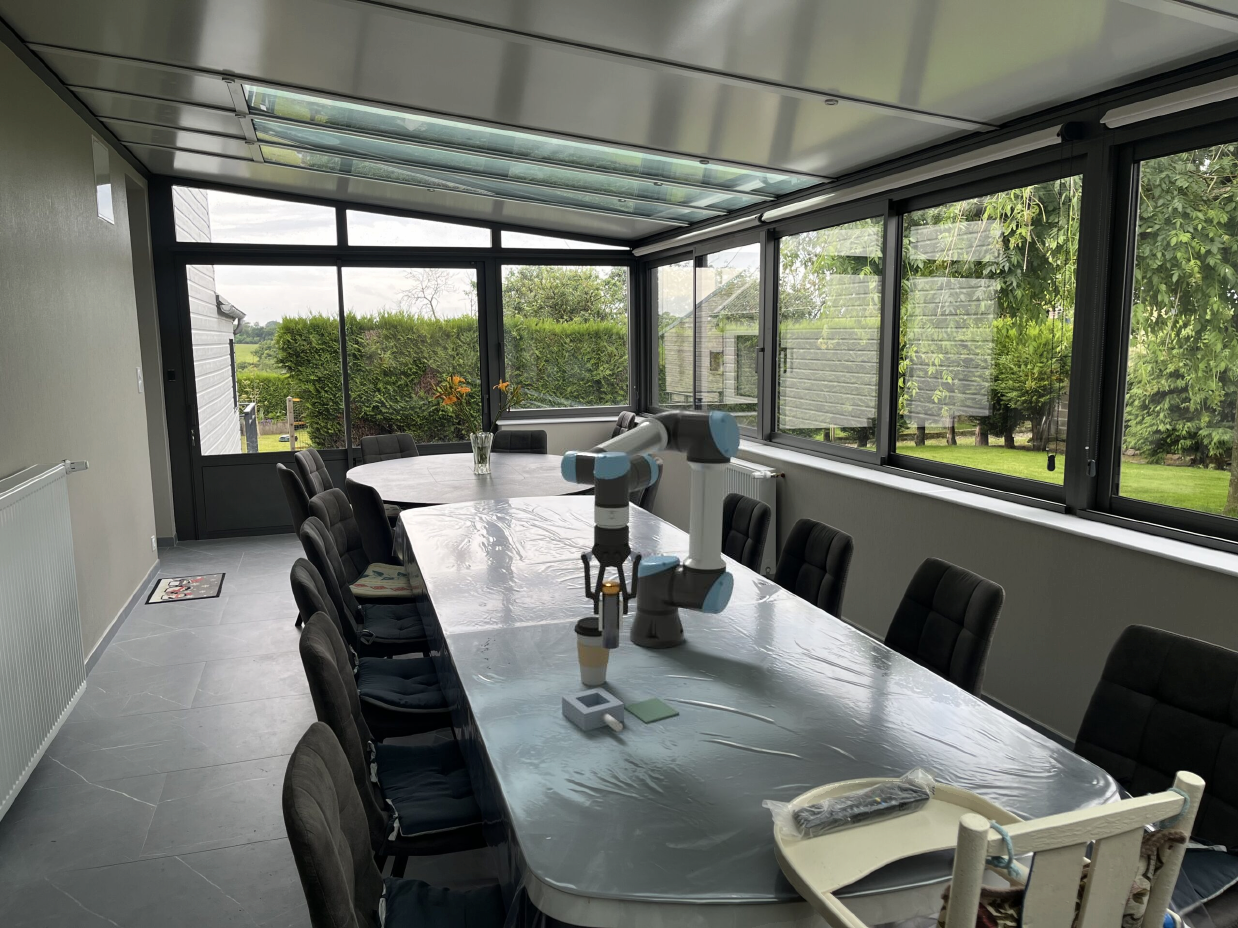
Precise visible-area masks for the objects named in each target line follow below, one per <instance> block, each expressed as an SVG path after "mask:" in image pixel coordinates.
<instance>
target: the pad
mask: <svg viewBox="0 0 1238 928" xmlns="http://www.w3.org/2000/svg"><path fill="white" fill-rule="evenodd" d="M624 710H626V711H627V712H629V713H631V714H632V715H633V716H635V717H636V718H637V719H638V720H640V721H642V722H643V723H645V724H649V723H653V722H656V721H660V720H663V719H666V718H670V717H673V716H679V715H680V712H679V711H677V710H676V709H674V708H673V707H672V706H670V705H669V704H667V703H666V702H664V701H662V700H661V699H660V698H658V697H653V698H649V699H645V700H642V701H639V702H635V703H630V704H626V705H624Z"/></svg>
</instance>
